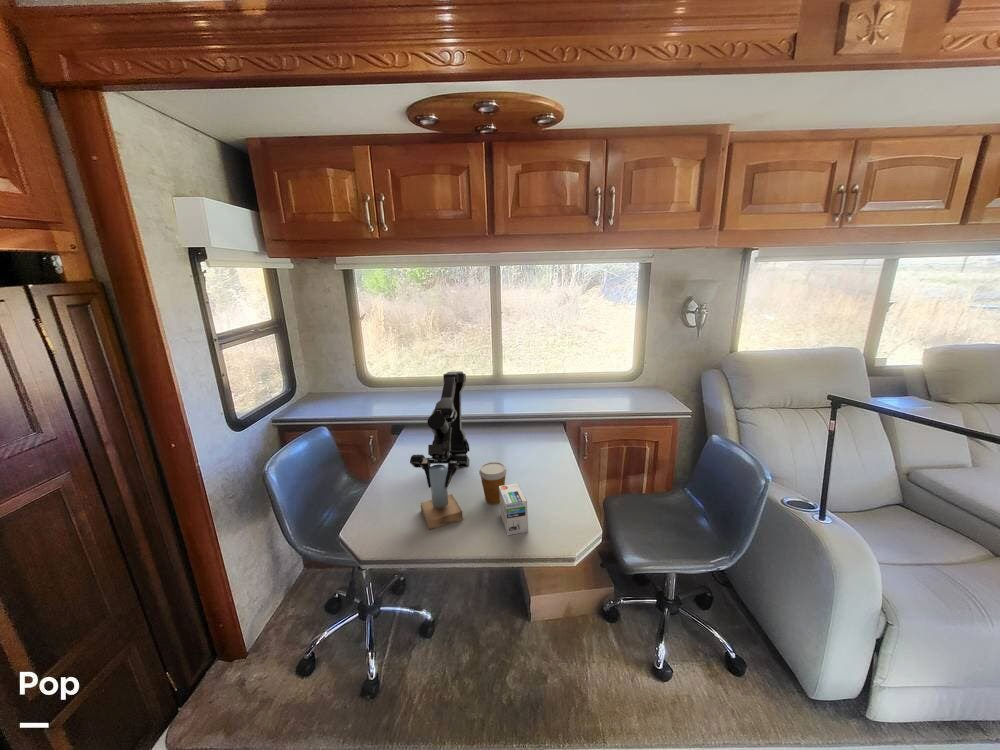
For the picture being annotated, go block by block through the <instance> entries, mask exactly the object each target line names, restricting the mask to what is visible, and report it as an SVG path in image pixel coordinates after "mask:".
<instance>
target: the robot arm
mask: <svg viewBox="0 0 1000 750" xmlns="http://www.w3.org/2000/svg"><path fill="white" fill-rule="evenodd" d="M442 379H443V385H442V391H441V396H440V400H439V401H437V402H436V403H435V408H434V409H433V410H432V412H431V414H430V416H429V417H428V419H427V421H426V422H427V426H428V427H429V428H430V430H431V432H432V433H433V434H434V435H433V440H432V442H431V443H432V444H428V448H427V449H428V450H427V452H428V453H427V454H428V455H429V456H430V457H425V456H424V454H412V455H411V456H410V457H409V458H410V459H409V463H410V465H411V466H412V467H414V468H416V469H417V468H418V469H419V468H421V469H422V470H424V471H423V472H424V473H425V478H426V482H427V486H428V488H430V489H431V484H430V475H429V468H430V467H431V466H432V465H438V464H440V465H444V464H446V465H447V470H446V486H445V487H446V488H447V489H448V487H449V484H450V482H451V480H452V478H453V477H454V475H455V473H456V472H457V470H458V471H459V470H460V469H462V468H469V467H470V458H469V456H468V453H469V452H470V444H469V442H468V438H466V433H465V432H464V430H463V429H462V392H463V390H464V389H465V387H466V385H465V384H466V382H467V375H466V373H464V372H463V371H461V370H460V371H447V372H446V373H444V374H443V378H442ZM449 423H450V424H449ZM431 464H432V465H431Z"/></svg>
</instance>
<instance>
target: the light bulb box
mask: <svg viewBox="0 0 1000 750" xmlns="http://www.w3.org/2000/svg"><path fill="white" fill-rule="evenodd" d="M499 495H500V503H499V506H500V507H499V509H500V518H501V520H502V522H503V526H504V529H505V531H506V534H507V536H511V535H516V534H523V533H528V532H529V519H528V515H529V514H528V500H527V497H526V496H525V494H524V493H523V491H522V489H521V487H520V484H519V483H518V482H517V483H511V484H505V485H503V486H499Z"/></svg>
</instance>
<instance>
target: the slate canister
mask: <svg viewBox="0 0 1000 750" xmlns="http://www.w3.org/2000/svg"><path fill="white" fill-rule="evenodd" d="M430 466H431V467H430V468H429V475H430V484H431V487H430V493H431V500H432V504H433V506H434V507H436V508H442V507H445V506H446V505H448V503H449V501H448V495H449V493H448V492H449V491H448V487H447V488H446V487H445V486H446V477H447V469H446V466H445V465H444V464H432V465H430Z"/></svg>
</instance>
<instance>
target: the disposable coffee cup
mask: <svg viewBox="0 0 1000 750" xmlns="http://www.w3.org/2000/svg"><path fill="white" fill-rule="evenodd" d="M507 472H508V469H507V468H506V466H505V464H504V463H501V462H499V461H490V462H489V461H488V462H486V463H484V464H482V465H481V466H480V468H479V471H478V475H479V476H480V479H481V484H482V489H483V494H484V495H483V496H484V500H485V502H486V503H487V504H489V505H490V504H491V505H497V504H500V495H499V486H503V485H506V484H505V483H506V475H507Z"/></svg>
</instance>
